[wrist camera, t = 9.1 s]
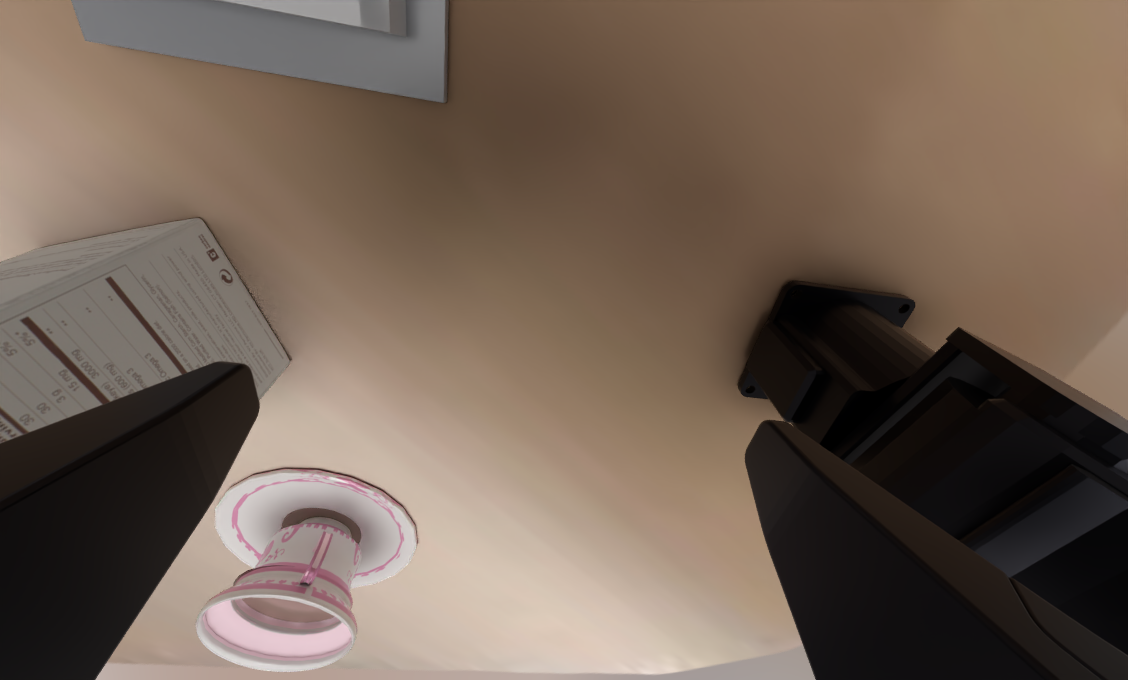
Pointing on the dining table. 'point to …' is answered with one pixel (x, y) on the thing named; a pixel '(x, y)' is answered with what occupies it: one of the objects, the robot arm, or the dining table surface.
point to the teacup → (300, 568)
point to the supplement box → (122, 321)
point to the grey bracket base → (290, 38)
